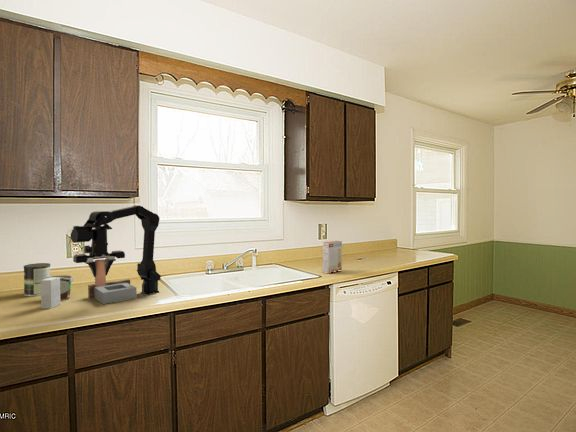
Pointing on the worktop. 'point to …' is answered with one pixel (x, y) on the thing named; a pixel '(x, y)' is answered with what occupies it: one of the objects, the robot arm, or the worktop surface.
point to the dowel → (100, 273)
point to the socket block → (114, 293)
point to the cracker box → (332, 256)
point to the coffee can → (35, 278)
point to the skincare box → (50, 292)
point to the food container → (64, 286)
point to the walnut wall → (91, 287)
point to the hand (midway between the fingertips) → (100, 276)
